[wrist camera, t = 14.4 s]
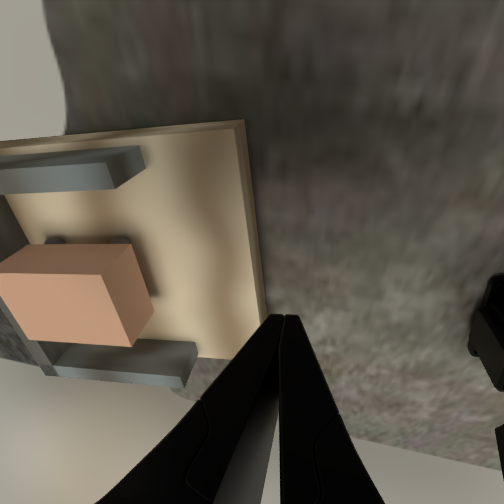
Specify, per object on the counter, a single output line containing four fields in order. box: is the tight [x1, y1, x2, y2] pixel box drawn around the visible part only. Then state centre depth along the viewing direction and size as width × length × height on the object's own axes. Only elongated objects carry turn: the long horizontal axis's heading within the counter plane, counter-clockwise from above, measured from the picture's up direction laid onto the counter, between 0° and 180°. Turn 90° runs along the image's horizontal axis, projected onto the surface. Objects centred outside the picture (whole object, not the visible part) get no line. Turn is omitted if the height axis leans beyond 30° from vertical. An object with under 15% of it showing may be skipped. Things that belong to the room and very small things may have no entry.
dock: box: [0, 119, 267, 389], centre depth 21 cm, size 16×16×6 cm
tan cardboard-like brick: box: [0, 236, 154, 347], centre depth 19 cm, size 7×5×4 cm
